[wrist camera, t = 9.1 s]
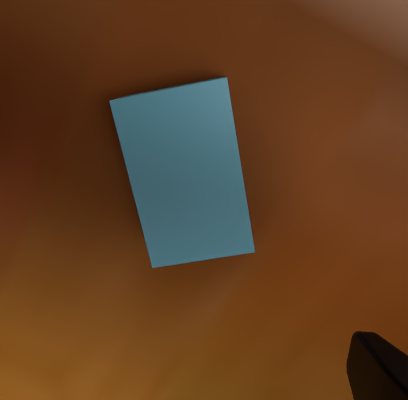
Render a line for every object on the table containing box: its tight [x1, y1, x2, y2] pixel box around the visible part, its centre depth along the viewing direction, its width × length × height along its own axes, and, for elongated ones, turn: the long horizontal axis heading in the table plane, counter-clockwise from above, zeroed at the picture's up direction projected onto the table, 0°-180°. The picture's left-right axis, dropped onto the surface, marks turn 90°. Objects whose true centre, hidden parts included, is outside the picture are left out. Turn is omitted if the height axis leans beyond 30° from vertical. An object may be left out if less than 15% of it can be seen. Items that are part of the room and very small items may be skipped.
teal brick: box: [109, 76, 255, 268], centre depth 19 cm, size 5×8×4 cm, turn 11°
